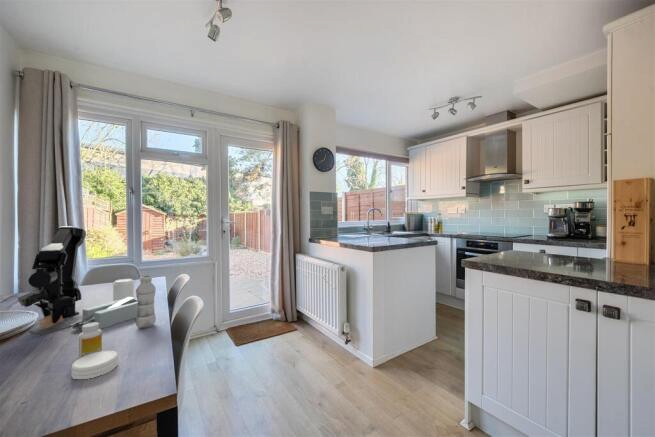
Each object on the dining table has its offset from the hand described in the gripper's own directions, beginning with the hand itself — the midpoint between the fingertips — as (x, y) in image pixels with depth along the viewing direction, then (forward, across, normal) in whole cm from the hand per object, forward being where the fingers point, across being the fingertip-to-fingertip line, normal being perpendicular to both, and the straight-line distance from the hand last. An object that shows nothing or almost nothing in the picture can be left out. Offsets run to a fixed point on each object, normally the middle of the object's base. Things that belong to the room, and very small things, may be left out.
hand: (51, 321), depth 103 cm
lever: (-1, +11, +13) cm, 17 cm away
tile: (0, 0, 0) cm, 0 cm away
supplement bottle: (+3, +37, -5) cm, 38 cm away
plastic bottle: (+3, +31, +16) cm, 35 cm away
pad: (+3, 0, 0) cm, 3 cm away
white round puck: (+3, +48, -9) cm, 49 cm away
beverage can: (+3, -6, +29) cm, 30 cm away
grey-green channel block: (+3, +11, +17) cm, 20 cm away
